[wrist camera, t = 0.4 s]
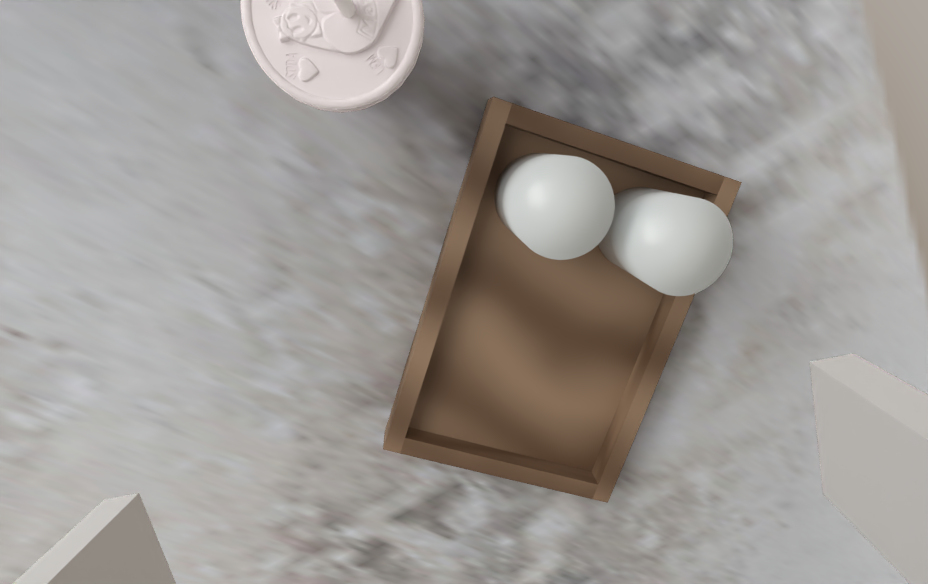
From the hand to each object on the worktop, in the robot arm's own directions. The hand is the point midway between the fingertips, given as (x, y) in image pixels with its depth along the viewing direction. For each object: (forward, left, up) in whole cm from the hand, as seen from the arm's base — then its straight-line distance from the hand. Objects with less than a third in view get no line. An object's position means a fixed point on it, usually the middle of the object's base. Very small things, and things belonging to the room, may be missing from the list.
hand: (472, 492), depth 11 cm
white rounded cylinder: (-5, +4, -21) cm, 22 cm away
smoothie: (-9, -7, -22) cm, 25 cm away
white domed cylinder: (-5, +10, -21) cm, 24 cm away
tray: (+1, +7, -22) cm, 23 cm away
